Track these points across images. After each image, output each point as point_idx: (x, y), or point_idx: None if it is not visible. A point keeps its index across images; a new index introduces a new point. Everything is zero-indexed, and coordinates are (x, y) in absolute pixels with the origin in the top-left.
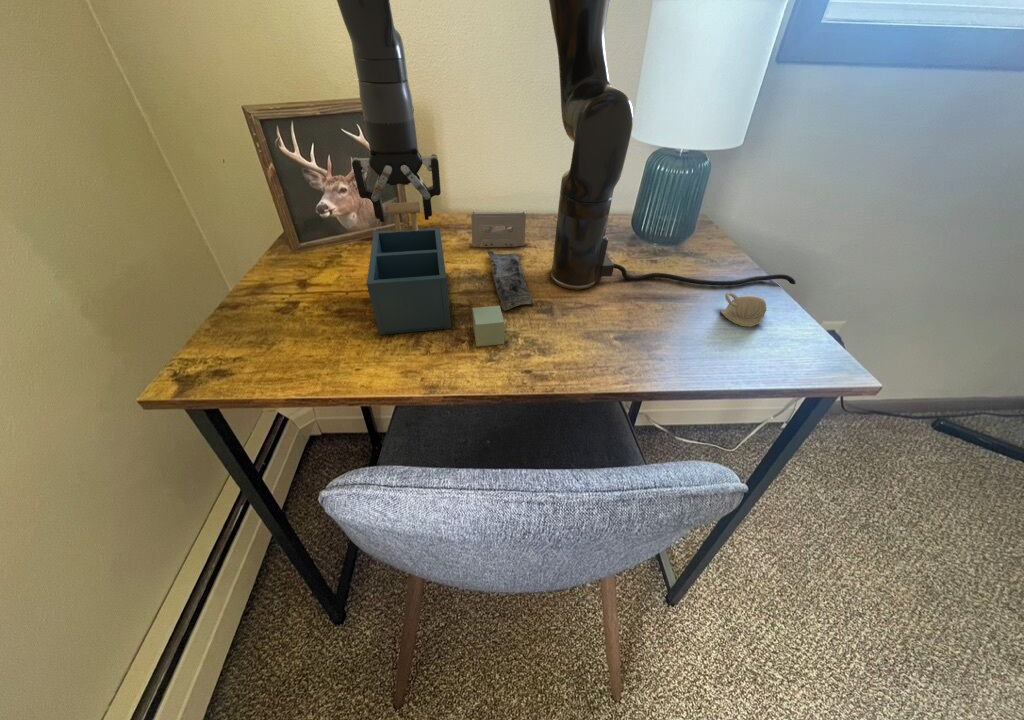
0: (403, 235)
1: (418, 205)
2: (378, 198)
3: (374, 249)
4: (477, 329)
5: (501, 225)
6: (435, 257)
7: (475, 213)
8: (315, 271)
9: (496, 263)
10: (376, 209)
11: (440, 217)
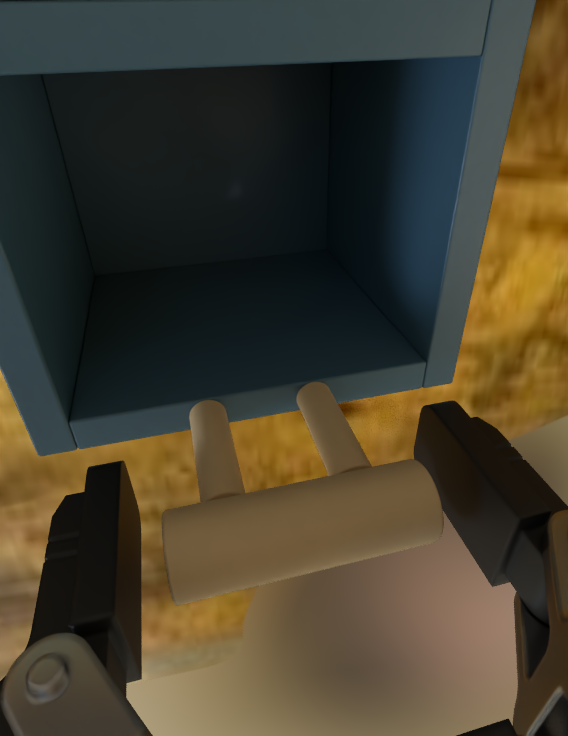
0: (281, 371)
1: (169, 561)
2: (554, 542)
3: (487, 128)
4: None
5: None
6: None
7: None
8: (559, 314)
9: None
10: (512, 467)
11: (164, 629)
